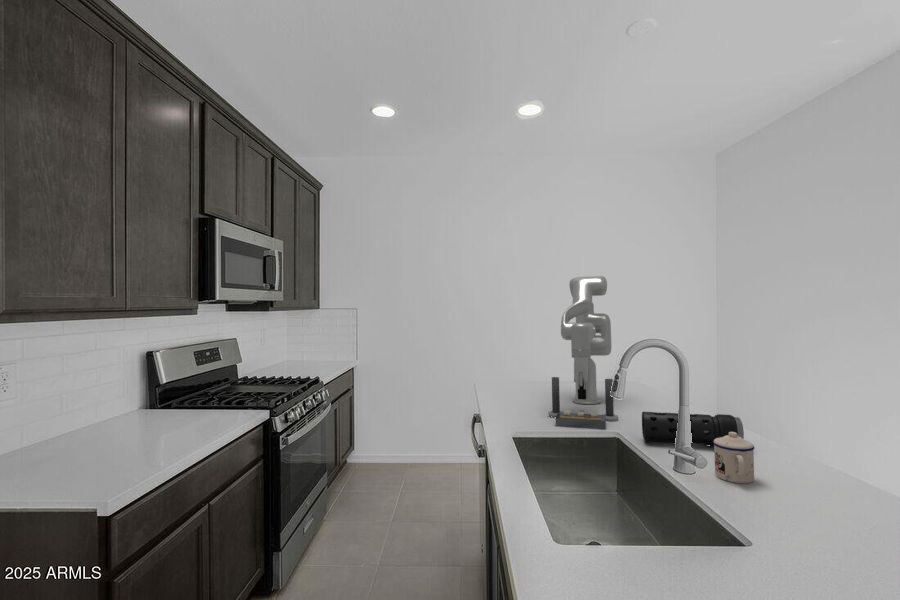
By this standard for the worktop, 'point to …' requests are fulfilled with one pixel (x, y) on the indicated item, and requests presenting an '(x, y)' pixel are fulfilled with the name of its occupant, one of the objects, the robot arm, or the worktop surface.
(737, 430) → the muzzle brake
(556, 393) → the post
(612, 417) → the post
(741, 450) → the teacup with lid
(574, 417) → the breaker panel
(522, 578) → the worktop surface
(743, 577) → the worktop surface
